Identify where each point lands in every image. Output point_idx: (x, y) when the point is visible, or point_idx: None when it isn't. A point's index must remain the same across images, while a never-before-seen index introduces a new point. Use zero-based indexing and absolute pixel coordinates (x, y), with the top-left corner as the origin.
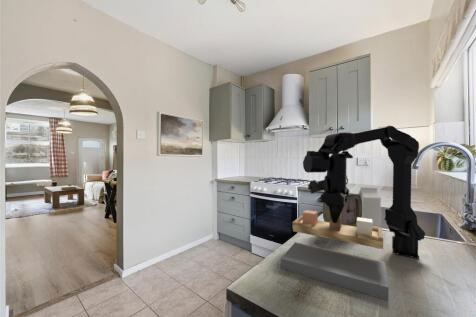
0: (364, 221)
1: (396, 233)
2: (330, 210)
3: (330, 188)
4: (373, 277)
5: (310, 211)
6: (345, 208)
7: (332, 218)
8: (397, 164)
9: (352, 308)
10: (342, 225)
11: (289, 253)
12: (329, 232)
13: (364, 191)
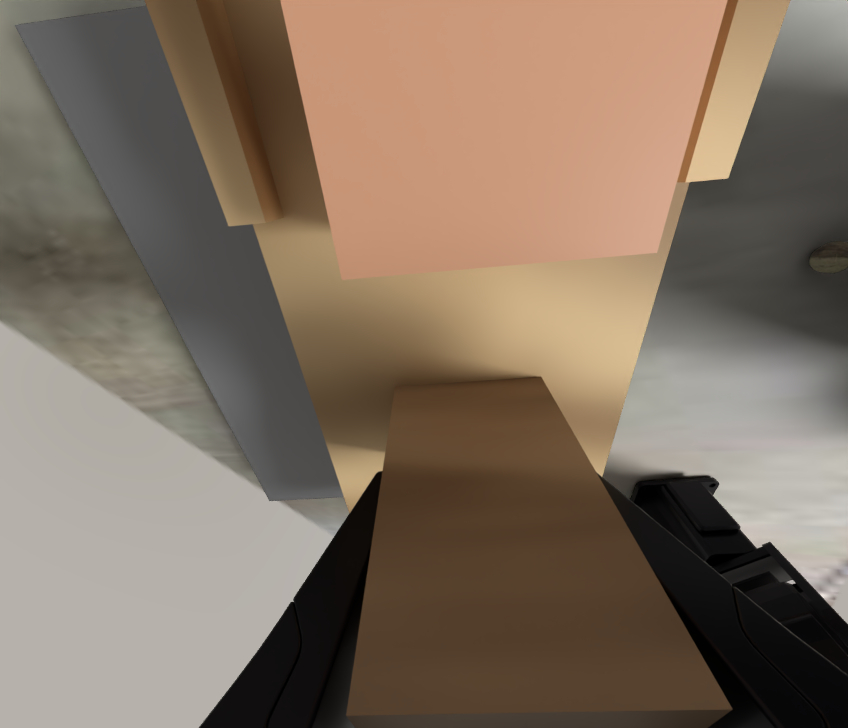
0: None
1: (730, 559)
2: (259, 660)
3: None
4: (296, 472)
5: (579, 31)
6: None
7: (350, 518)
8: None
9: (160, 411)
10: (582, 447)
11: (153, 51)
12: (314, 400)
13: None
